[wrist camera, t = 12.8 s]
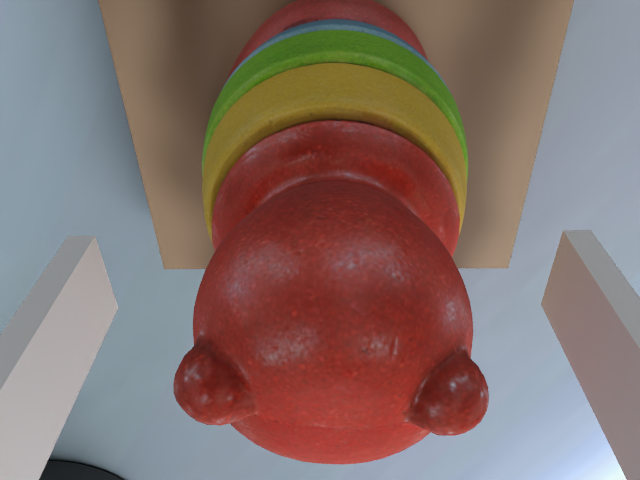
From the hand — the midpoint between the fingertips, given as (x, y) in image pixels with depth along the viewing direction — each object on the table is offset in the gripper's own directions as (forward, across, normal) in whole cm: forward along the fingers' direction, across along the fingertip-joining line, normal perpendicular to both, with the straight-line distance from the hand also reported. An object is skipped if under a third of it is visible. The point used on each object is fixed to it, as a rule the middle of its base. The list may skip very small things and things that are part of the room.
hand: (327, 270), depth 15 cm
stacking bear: (+12, 0, 0) cm, 12 cm away
